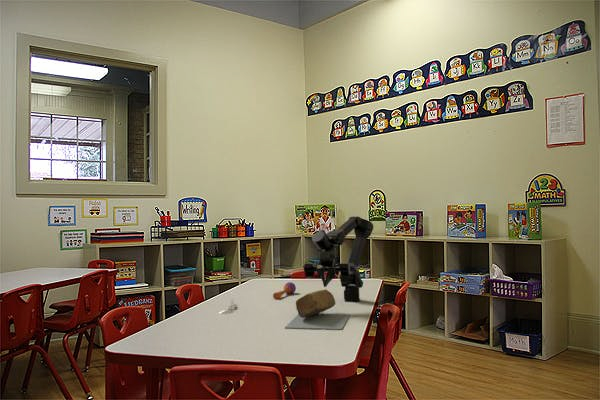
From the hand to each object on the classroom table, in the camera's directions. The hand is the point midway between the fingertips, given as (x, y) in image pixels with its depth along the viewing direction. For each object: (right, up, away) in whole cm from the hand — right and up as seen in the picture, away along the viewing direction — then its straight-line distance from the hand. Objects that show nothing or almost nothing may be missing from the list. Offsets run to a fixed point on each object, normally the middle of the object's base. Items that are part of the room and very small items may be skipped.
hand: (324, 286), depth 197 cm
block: (0, -6, 0) cm, 6 cm away
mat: (-3, -10, -16) cm, 19 cm away
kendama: (-18, -13, +44) cm, 49 cm away
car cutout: (-40, -13, +10) cm, 43 cm away
